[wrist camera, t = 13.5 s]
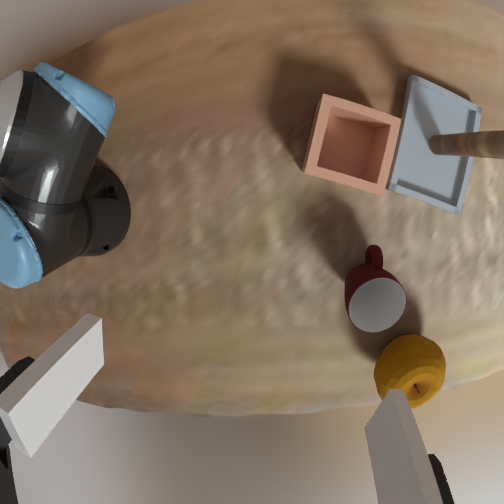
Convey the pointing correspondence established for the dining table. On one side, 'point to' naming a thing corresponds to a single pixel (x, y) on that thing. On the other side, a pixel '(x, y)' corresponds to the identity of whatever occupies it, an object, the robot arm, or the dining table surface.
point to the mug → (373, 294)
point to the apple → (411, 368)
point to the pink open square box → (351, 144)
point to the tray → (417, 145)
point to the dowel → (469, 144)
